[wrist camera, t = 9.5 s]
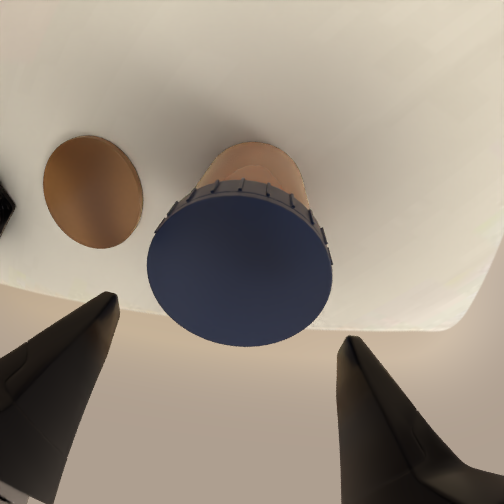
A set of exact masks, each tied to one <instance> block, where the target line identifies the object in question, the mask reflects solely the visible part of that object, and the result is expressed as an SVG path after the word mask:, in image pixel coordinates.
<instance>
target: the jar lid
mask: <svg viewBox="0 0 504 504" xmlns="http://www.w3.org/2000/svg"><path fill="white" fill-rule="evenodd" d="M154 233H156V234H155V236H154V237H153V239H152V242H151V245H150V247H149V251H148V256H147V273H148V279H149V283H150V287H151V289H152V291H153V294H154V296H155V298H156V299H157V301H158V303H159V304H160V306H161V307H162V308H163V310H164V311H165V312H166V313H167V314H168V315H169V316H170V317H171V318H172V319H173V320H174V321H175V322H176V323H178V324H179V325H180V326H182V327H183V328H185V329H186V330H188V331H189V332H191V333H193V334H195V335H197V336H199V337H202V338H204V339H206V340H209V341H212V342H215V343H219V344H224V345H230V346H240V347H252V346H262V345H268V344H272V343H276V342H279V341H282V340H285V339H287V338H290V337H292V336H294V335H295V334H297V333H299V332H300V331H302V330H304V329H305V328H306V327H307V326H309V325H310V324H311V323H312V322H313V321H314V320H315V319H316V318H317V317H318V315H319V314H320V312H321V311H322V310H323V308H324V306H325V304H326V302H327V300H328V298H329V295H330V291H331V286H332V266H331V265H333V262H332V259H331V255H330V251H329V248H328V247H327V244H328V243H327V240H326V236H325V233H324V229H323V227H322V228H320V226H319V224H318V222H317V220H316V219H315V218H314V216H313V213H312V210H311V209H309V210H308V209H307V208H306V207H305V206H304V205H303V204H302V203H301V202H300V201H298V200H297V199H296V198H294V194H292V193H291V194H288V193H286V192H285V191H283V190H281V189H279V188H276V187H274V186H271V183H269V182H268V183H267V184H265V183H261V182H257V181H249V180H245V178H242V179H241V180H227V181H220V182H219V180H216V181H215V183H212V184H208V185H205V186H203V187H201V188H199V189H196V188H194V189H193V190H192V191H191V193H190V194H188V195H187V196H185V197H184V198H183V199H182V200H181V201H179V202H178V201H176V202H175V204H174V205H173V206H172V208H171V209H170V211H169V212H168V213H167V217H166V218H164V219H163V220H162V222H161V223H160V225H159V226H158V228H157V229H156V230H155V232H154Z"/></svg>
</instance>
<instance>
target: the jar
mask: <svg viewBox="0 0 504 504" xmlns="http://www.w3.org/2000/svg"><path fill="white" fill-rule="evenodd" d="M242 178H245V180H249V181H257V182H261V183H265V184H267V183H268V182H269V183H271V186H274V187H276V188H279V189H281V190H283V191H285V192H286V193H288V194H291V193H292V194H294V198H296V199H297V200H298V201H300V202H301V203H302V204H303V205H304V206H305V207H306V208H307V209H308V210H309V209H310V206H309V202H308V199H307V195H306V191H305V187H304V183H303V180H302V176H301V173H300V171H299V169H298V167H297V165H296V164H295V162H294V161H293V160H292V159H291V158H290V157H289V156H288V155H287V154H286V153H285V152H283V151H282V150H280V149H279V148H277V147H275V146H272V145H270V144H266V143H261V142H245V143H240V144H237V145H234V146H232V147H229V148H228V149H226V150H224V151H223V152H222V153H221V154H219V155H218V156H217V157H216V158H215V160H214V161H213V162H212V164H211V165H210V167H209V168H208V169H207V171H206V172H205V174H204V175H203V177H202V178H201V179H200V181H199V182H198V184H197V185H196V187H195V188H196V189H199V188H201V187H203V186H205V185H208V184H212V183H215V181H216V180H219V182H220V181H227V180H241V179H242Z"/></svg>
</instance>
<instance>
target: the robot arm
mask: <svg viewBox="0 0 504 504" xmlns="http://www.w3.org/2000/svg"><path fill="white" fill-rule="evenodd" d="M14 210H15V204H14V203H13V201H12V200H11V199H10V197H9V196H8V194H7V193H6V192H5V190H4V189H3V187H2V186H1V185H0V237H1V235H2V233H3V231H4V229H5V227H6V225H7V223H8V221H9V219H10V217H11V216H12V214H13V212H14ZM119 317H120V309H119V302H118V297H117V295H116V294H115V293H111V292H107V291H106V292H103V293H101V294H100V295H98V296H97V297H95V298H93V299H92V300H90V301H89V302H87V303H85V304H84V305H82V306H81V307H79V308H78V309H76V310H74V311H73V312H71V313H70V314H68V315H67V316H65V317H63V318H62V319H60V320H59V321H57V322H56V323H54V324H53V325H51V326H50V327H48V328H46V329H45V330H44V331H42V332H41V333H39V334H37V335H36V336H35V337H33V338H31V339H30V340H28V343H27V342H25V343H24V344H22V345H21V346H19V347H18V348H16V349H15V350H13V351H12V352H10V353H9V354H7V355H5V356H4V357H2V358H0V504H27V502H28V499H29V496H30V497H32V498H35V499H37V500H39V501H41V502H43V503H45V504H53V503H54V500H55V496H56V493H57V490H58V486H59V483H60V479H61V476H62V473H63V470H64V467H65V464H66V461H67V457H68V454H69V451H70V448H71V446H72V443H73V440H74V437H75V434H76V432H77V429H78V426H79V423H80V421H81V418H82V415H83V413H84V410H85V408H86V405H87V403H88V400H89V398H90V395H91V393H92V390H93V388H94V385H95V383H96V381H97V378H98V376H99V373H100V371H101V369H102V367H103V364H104V362H105V359H106V357H107V354H108V351H109V348H110V345H111V341H112V338H113V336H114V332H115V329H116V326H117V323H118V320H119ZM336 386H337V387H336V400H337V413H338V429H339V443H340V466H341V502H342V504H504V476H502V475H498V474H494V473H490V472H486V471H482V470H479V469H475V468H472V467H470V466H468V465H466V464H465V463H463V462H462V461H461V460H460V459H459V458H458V457H457V456H456V455H455V454H454V453H453V452H452V450H451V449H450V448H449V447H448V446H447V445H446V444H445V443H444V442H443V441H442V440H441V438H440V437H439V436H438V435H437V434H436V433H435V432H434V431H433V430H432V428H431V427H430V426H429V425H428V423H427V422H426V421H425V419H424V418H423V417H422V416H421V414H420V413H419V412H418V411H416V408H415V406H414V405H413V404H412V403H411V401H410V400H409V399H408V397H407V396H406V395H405V394H404V392H403V391H402V390H401V388H400V387H399V386H398V385H397V383H396V382H395V381H394V379H393V378H392V377H391V376H390V374H389V373H388V372H387V370H386V369H385V368H384V367H383V365H382V364H381V363H380V362H379V360H378V359H377V358H376V357H375V355H374V354H373V353H372V352H371V350H370V349H369V348H368V347H367V345H366V344H365V343H364V342H363V340H362V339H361V338H360V337H358V336H347V337H346V339H345V340H344V342H343V344H342V346H341V347H340V349H339V351H338V354H337V384H336Z"/></svg>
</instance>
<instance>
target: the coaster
mask: <svg viewBox="0 0 504 504" xmlns="http://www.w3.org/2000/svg"><path fill="white" fill-rule="evenodd" d="M43 188H44V196H45V200H46V204H47V206H48V209H49V211H50V213H51V215H52V217H53V219H54V220H55V222H56V223H57V225H58V226H59V227H60V228H61V229H62V231H63V232H64V233H65V234H67V235H68V236H69V237H70V238H72V239H73V240H75V241H76V242H78V243H80V244H82V245H85V246H88V247H91V248H97V249H104V248H110V247H114V246H116V245H118V244H120V243H122V242H123V241H125V240H126V239H127V238H128V237H129V236H130V235H131V233H132V232H133V231H134V229H135V228H136V226H137V224H138V222H139V220H140V217H141V213H142V206H143V195H142V188H141V184H140V180H139V177H138V175H137V172H136V170H135V168H134V167H133V165H132V163H131V162H130V160H129V159H128V157H127V156H126V155H125V154H124V153H123V152H122V151H121V150H120V149H119V148H118V147H116V146H115V145H114V144H112V143H111V142H109V141H107V140H105V139H103V138H99V137H96V136H79V137H75V138H72V139H70V140H68V141H66V142H64V143H62V144H61V145H60V146H59V147H57V148H56V150H55V151H54V152H53V153H52V155H51V156H50V158H49V160H48V162H47V165H46V168H45V172H44V178H43Z"/></svg>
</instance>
